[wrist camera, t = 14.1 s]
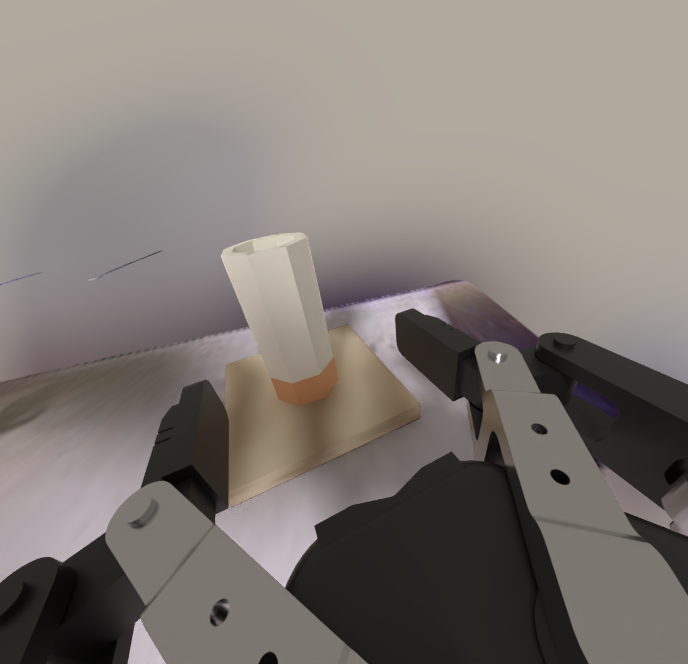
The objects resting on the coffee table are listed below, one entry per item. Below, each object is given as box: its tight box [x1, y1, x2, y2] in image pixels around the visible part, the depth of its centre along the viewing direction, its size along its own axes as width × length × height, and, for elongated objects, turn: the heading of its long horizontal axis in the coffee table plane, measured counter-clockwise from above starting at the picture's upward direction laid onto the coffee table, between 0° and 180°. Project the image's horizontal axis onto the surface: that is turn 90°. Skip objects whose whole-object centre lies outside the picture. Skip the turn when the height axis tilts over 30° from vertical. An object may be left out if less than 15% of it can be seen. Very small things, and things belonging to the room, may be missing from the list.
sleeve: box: [221, 233, 338, 406], centre depth 19 cm, size 5×5×12 cm
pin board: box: [225, 325, 420, 507], centre depth 21 cm, size 14×14×6 cm
